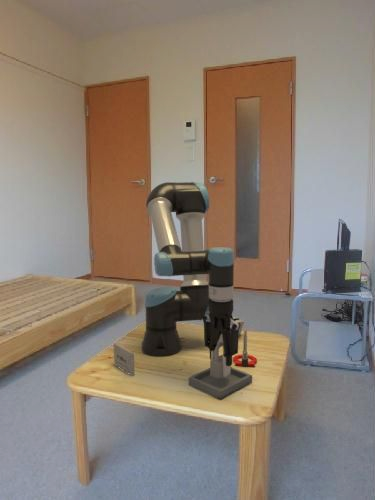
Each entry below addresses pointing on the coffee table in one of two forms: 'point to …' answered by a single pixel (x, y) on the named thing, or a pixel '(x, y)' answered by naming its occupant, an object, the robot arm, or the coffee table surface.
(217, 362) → the padlock
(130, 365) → the cassette
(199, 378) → the tray
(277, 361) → the coffee table surface
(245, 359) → the tow hook
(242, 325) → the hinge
